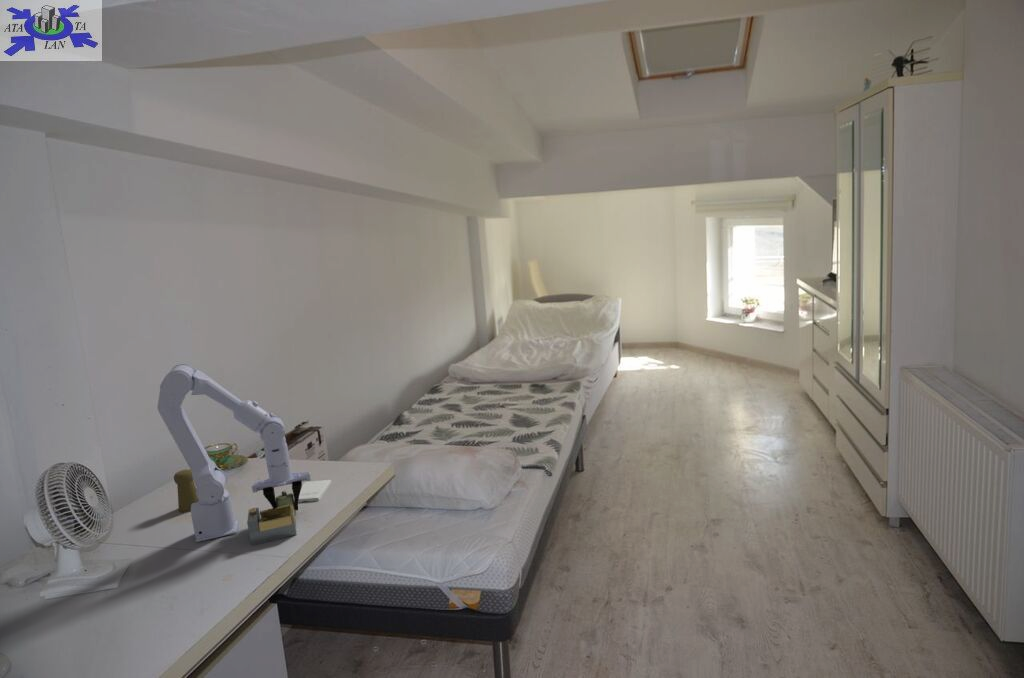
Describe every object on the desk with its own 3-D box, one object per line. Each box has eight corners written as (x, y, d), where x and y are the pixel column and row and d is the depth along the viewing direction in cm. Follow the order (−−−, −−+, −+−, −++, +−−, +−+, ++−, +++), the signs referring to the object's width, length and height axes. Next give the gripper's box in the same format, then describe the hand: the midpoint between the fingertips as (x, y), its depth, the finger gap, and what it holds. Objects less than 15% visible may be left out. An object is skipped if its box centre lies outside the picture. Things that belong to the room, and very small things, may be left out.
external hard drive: (332, 484, 194) (319, 502, 182) (304, 487, 194) (290, 505, 182) (331, 479, 193) (318, 497, 181) (304, 481, 194) (289, 499, 181)
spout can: (279, 521, 171) (274, 498, 170) (279, 514, 175) (275, 492, 174) (296, 517, 172) (292, 494, 171) (296, 510, 176) (292, 488, 175)
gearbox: (251, 545, 159) (246, 519, 157) (253, 531, 166) (248, 506, 165) (296, 534, 162) (291, 509, 161) (295, 521, 169) (291, 497, 168)
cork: (206, 502, 189) (199, 466, 187) (194, 511, 183) (186, 474, 181) (186, 503, 189) (179, 467, 187) (174, 512, 183) (166, 476, 181)
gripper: (248, 473, 165) (257, 523, 167) (307, 461, 169) (315, 510, 172) (249, 464, 171) (258, 512, 174) (306, 453, 176) (314, 500, 178)
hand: (286, 511), depth 173 cm, fingers closed on spout can, 4 cm apart
